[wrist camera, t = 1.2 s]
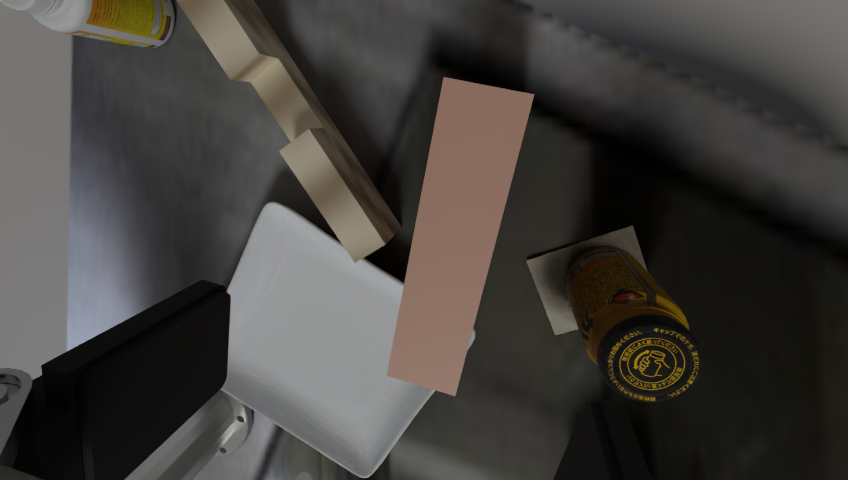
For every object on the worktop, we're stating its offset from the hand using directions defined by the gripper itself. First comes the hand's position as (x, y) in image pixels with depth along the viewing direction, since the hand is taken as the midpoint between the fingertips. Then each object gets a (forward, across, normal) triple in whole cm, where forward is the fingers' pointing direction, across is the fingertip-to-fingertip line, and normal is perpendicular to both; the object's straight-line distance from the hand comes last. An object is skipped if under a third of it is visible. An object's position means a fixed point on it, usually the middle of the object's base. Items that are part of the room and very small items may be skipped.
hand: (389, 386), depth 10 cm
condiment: (+25, -11, +4) cm, 28 cm away
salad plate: (+25, +10, +17) cm, 32 cm away
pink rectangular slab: (+25, 0, 0) cm, 25 cm away
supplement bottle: (+25, +30, -9) cm, 40 cm away
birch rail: (+24, +16, -4) cm, 29 cm away
